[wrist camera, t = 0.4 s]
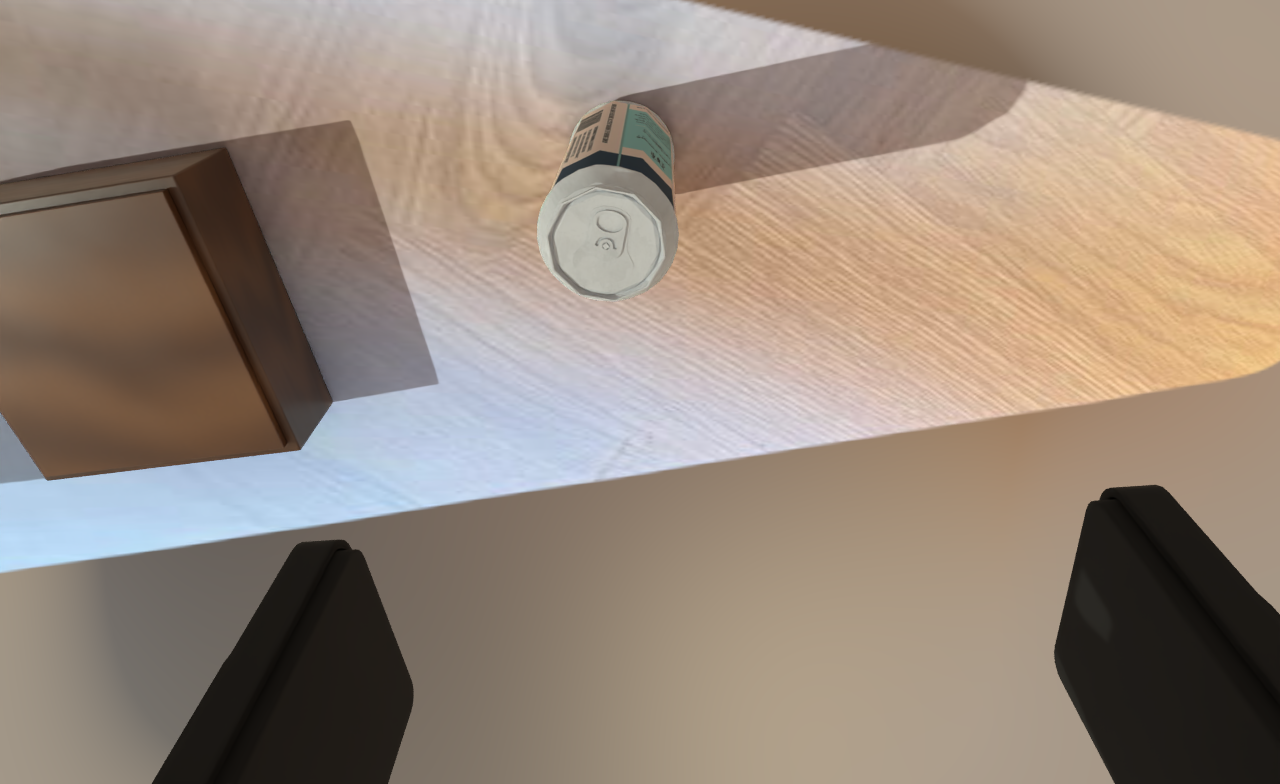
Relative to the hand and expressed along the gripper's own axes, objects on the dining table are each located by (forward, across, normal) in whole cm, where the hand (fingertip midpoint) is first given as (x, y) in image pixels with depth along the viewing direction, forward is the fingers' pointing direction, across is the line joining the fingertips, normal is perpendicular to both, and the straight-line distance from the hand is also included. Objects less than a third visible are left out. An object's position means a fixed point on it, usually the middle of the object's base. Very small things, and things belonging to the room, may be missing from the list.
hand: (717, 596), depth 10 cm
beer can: (+29, +3, +1) cm, 29 cm away
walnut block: (+29, +28, +6) cm, 40 cm away
